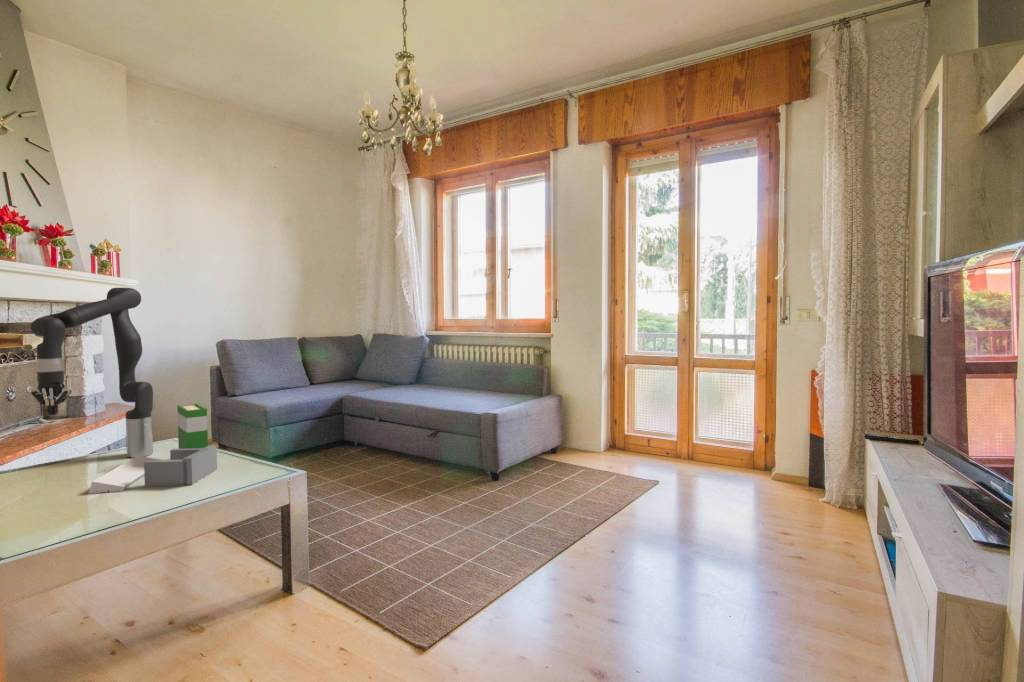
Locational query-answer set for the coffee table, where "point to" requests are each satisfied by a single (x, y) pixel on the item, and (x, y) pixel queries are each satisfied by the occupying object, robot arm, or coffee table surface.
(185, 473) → the end cap
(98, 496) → the coffee table surface
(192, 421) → the hardback book
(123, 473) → the decorative molding
